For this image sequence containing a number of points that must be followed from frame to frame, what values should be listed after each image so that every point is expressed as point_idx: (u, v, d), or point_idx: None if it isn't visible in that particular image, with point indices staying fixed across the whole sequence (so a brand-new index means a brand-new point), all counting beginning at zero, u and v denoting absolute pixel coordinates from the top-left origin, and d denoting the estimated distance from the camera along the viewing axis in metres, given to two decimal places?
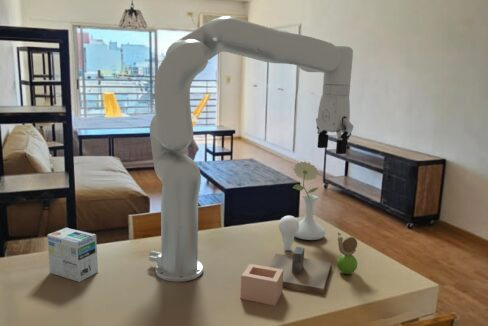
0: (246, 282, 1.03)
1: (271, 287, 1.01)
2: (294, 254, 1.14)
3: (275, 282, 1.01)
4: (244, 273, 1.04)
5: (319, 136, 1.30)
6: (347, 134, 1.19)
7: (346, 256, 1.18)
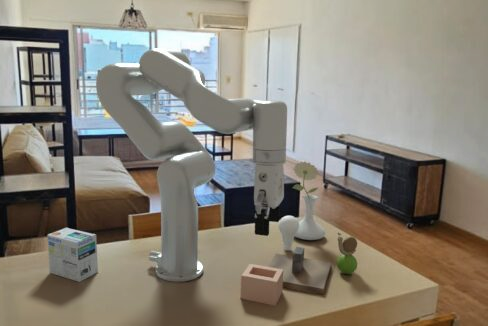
0: (246, 282, 1.03)
1: (271, 287, 1.01)
2: (294, 254, 1.14)
3: (275, 282, 1.01)
4: (244, 273, 1.04)
5: None
6: None
7: (346, 256, 1.18)
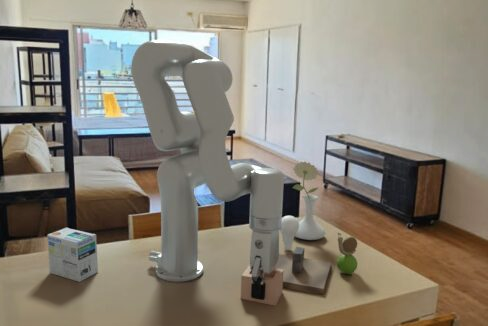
0: (246, 282, 1.03)
1: (271, 287, 1.01)
2: (294, 254, 1.14)
3: (275, 282, 1.01)
4: (244, 273, 1.04)
5: None
6: None
7: (346, 256, 1.18)
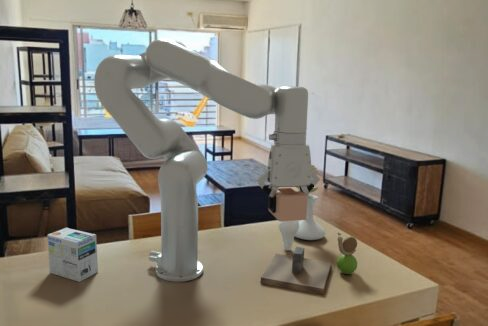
0: None
1: (278, 202, 1.03)
2: (294, 254, 1.14)
3: (280, 197, 1.02)
4: None
5: (275, 199, 1.05)
6: None
7: (346, 256, 1.18)
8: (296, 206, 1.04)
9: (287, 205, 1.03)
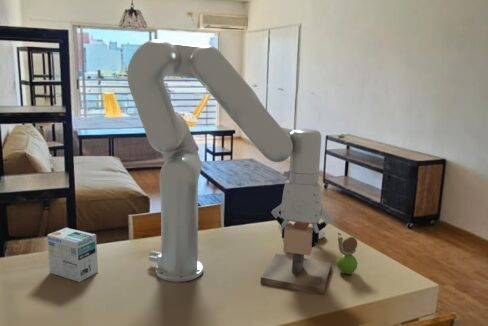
0: None
1: None
2: (294, 254, 1.14)
3: None
4: None
5: None
6: None
7: (346, 256, 1.18)
8: (299, 241, 1.11)
9: (291, 238, 1.12)
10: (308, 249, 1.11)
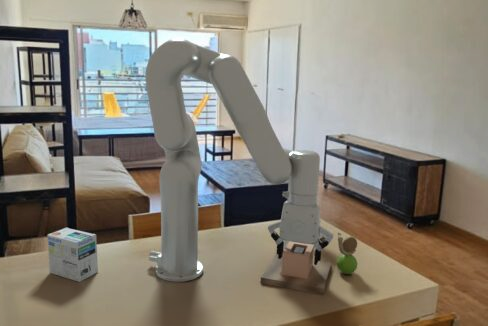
0: None
1: None
2: None
3: None
4: (293, 242, 1.20)
5: (280, 247, 1.16)
6: None
7: (346, 256, 1.18)
8: (297, 264, 1.12)
9: (289, 261, 1.13)
10: (306, 273, 1.12)
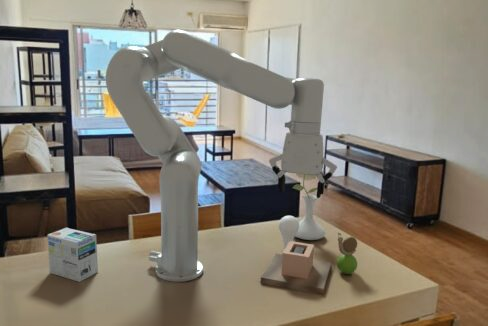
0: None
1: None
2: None
3: None
4: (293, 242, 1.20)
5: (282, 180, 1.12)
6: (331, 175, 1.09)
7: (346, 256, 1.18)
8: (297, 264, 1.12)
9: (289, 261, 1.13)
10: (306, 273, 1.12)
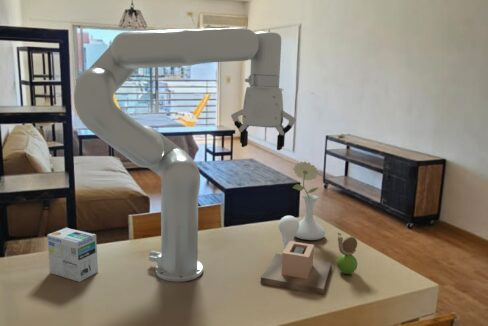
0: None
1: None
2: None
3: None
4: (293, 242, 1.20)
5: (243, 134, 1.15)
6: (290, 128, 1.12)
7: (346, 256, 1.18)
8: (297, 264, 1.12)
9: (289, 261, 1.13)
10: (306, 273, 1.12)
